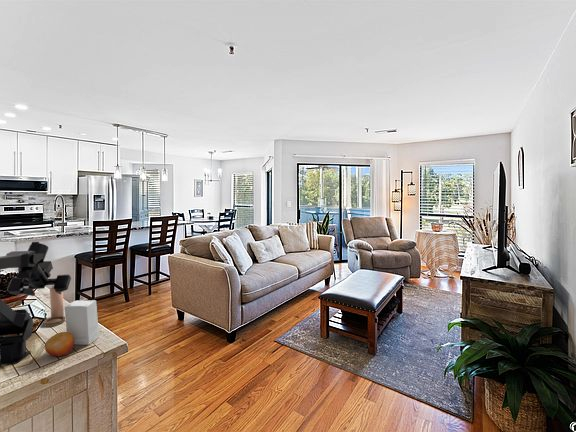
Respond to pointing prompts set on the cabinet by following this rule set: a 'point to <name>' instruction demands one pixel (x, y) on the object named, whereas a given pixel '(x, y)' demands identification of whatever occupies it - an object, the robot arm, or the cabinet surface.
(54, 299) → the vase
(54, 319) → the coaster
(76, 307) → the skincare box
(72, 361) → the cabinet surface
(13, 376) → the cabinet surface
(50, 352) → the fruit
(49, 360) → the cabinet surface
